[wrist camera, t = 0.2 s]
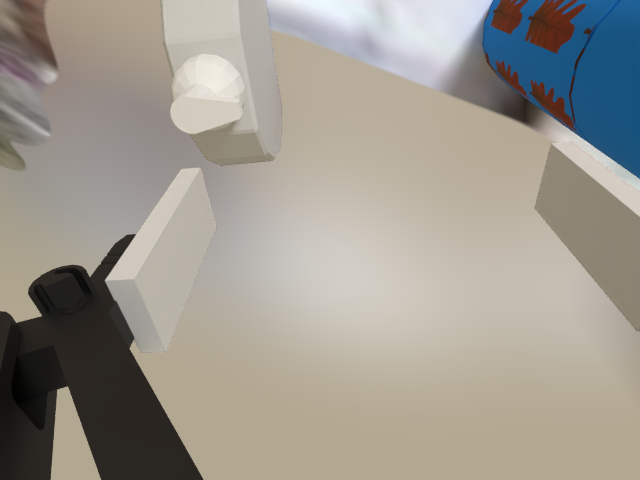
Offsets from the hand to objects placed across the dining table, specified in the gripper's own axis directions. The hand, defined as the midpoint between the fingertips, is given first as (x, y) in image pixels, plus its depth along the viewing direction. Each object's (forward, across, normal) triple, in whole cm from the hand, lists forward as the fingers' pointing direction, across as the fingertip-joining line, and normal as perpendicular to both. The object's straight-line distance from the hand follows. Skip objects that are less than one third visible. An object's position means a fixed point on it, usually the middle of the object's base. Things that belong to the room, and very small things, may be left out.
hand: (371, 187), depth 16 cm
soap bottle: (+28, -9, +1) cm, 30 cm away
